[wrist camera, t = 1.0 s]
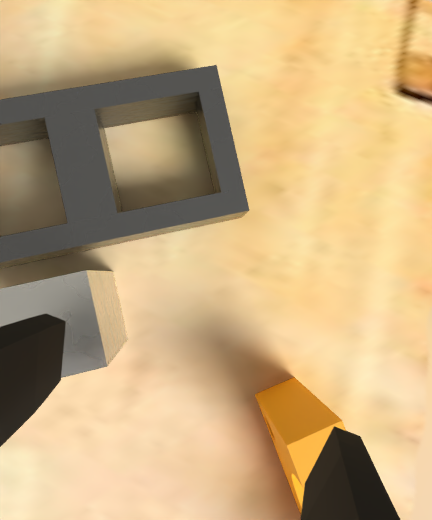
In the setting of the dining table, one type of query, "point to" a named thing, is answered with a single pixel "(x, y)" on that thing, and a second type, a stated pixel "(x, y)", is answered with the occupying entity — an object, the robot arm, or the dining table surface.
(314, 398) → the pipe clamp
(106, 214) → the dark grey flat frame
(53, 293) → the block
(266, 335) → the dining table surface
